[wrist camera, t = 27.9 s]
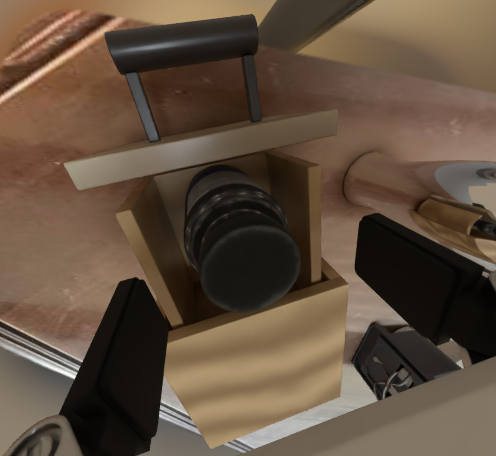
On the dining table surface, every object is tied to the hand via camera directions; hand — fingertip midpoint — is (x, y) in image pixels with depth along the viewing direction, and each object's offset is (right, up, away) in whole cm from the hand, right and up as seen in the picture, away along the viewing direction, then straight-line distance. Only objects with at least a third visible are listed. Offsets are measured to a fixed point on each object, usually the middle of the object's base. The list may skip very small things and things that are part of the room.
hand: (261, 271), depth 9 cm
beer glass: (+13, +8, +15) cm, 21 cm away
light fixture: (+26, -20, +32) cm, 46 cm away
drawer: (-3, +6, +11) cm, 12 cm away
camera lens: (-3, +5, +10) cm, 11 cm away
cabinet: (-1, -6, +18) cm, 19 cm away
